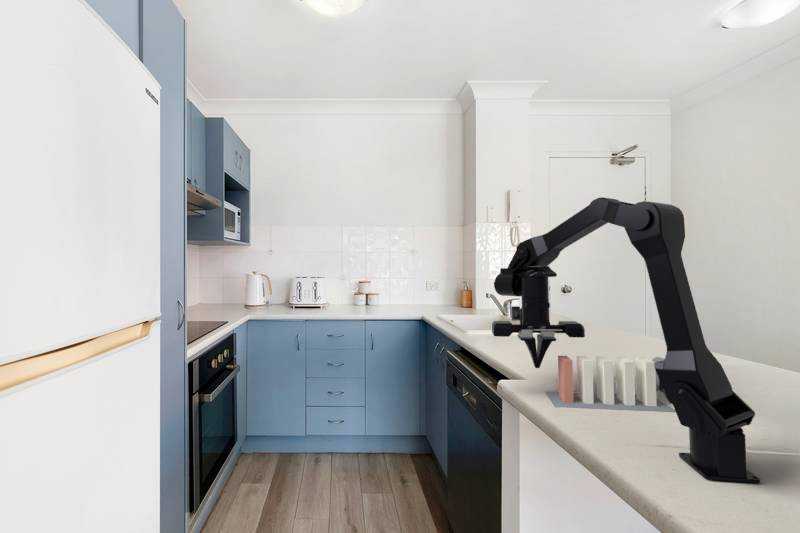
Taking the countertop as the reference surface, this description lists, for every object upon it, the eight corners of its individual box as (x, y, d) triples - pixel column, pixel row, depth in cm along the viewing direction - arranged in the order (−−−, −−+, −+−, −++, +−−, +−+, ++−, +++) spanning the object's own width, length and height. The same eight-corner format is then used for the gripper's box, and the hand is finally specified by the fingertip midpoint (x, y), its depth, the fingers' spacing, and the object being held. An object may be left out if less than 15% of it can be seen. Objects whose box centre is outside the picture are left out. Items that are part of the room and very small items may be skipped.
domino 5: (656, 406, 73) (655, 362, 73) (646, 406, 74) (645, 362, 74) (645, 399, 78) (644, 357, 78) (636, 398, 78) (635, 357, 78)
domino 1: (573, 402, 76) (572, 360, 76) (564, 402, 76) (563, 360, 76) (567, 395, 80) (566, 355, 80) (558, 395, 81) (557, 355, 81)
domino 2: (593, 403, 75) (592, 360, 75) (584, 403, 76) (583, 360, 76) (586, 396, 80) (585, 356, 80) (577, 396, 80) (576, 355, 80)
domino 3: (614, 404, 75) (612, 361, 75) (604, 404, 75) (603, 361, 75) (605, 397, 79) (604, 356, 79) (597, 397, 79) (595, 356, 79)
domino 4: (635, 405, 74) (633, 361, 74) (625, 405, 74) (624, 361, 74) (625, 398, 78) (624, 357, 78) (616, 397, 79) (615, 356, 79)
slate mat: (679, 414, 70) (678, 412, 70) (555, 408, 74) (555, 406, 74) (652, 397, 80) (652, 395, 80) (544, 392, 84) (544, 391, 84)
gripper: (568, 295, 86) (570, 360, 86) (489, 295, 89) (490, 358, 89) (584, 298, 75) (586, 372, 75) (493, 298, 78) (495, 370, 78)
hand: (536, 367), depth 79 cm, fingers closed
